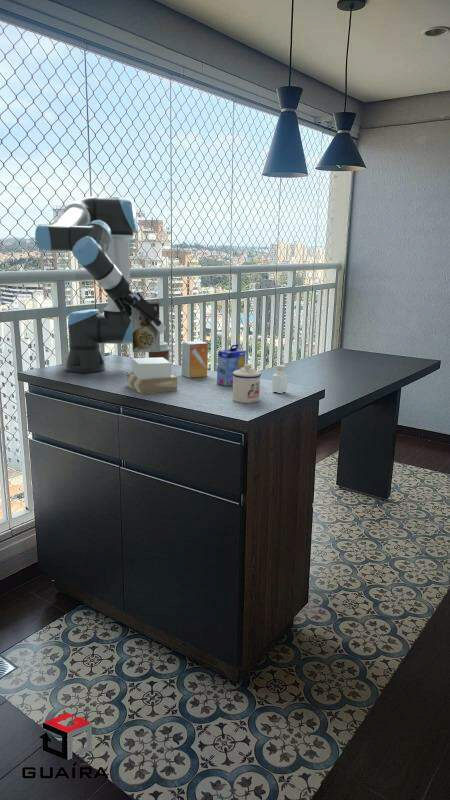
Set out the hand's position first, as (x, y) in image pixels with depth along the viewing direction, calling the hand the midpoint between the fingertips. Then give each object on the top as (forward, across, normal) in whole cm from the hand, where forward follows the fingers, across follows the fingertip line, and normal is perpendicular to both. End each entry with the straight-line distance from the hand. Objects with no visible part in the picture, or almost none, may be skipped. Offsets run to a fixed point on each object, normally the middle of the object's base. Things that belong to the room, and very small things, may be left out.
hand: (153, 329), depth 186 cm
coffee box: (+3, 0, -7) cm, 8 cm away
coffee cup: (+27, -19, -2) cm, 33 cm away
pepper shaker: (+36, +31, +7) cm, 48 cm away
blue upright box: (+34, +11, +5) cm, 36 cm away
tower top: (+12, -2, -11) cm, 16 cm away
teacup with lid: (+26, +30, -4) cm, 40 cm away
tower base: (+16, -2, -14) cm, 21 cm away
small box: (+33, -7, +4) cm, 34 cm away
